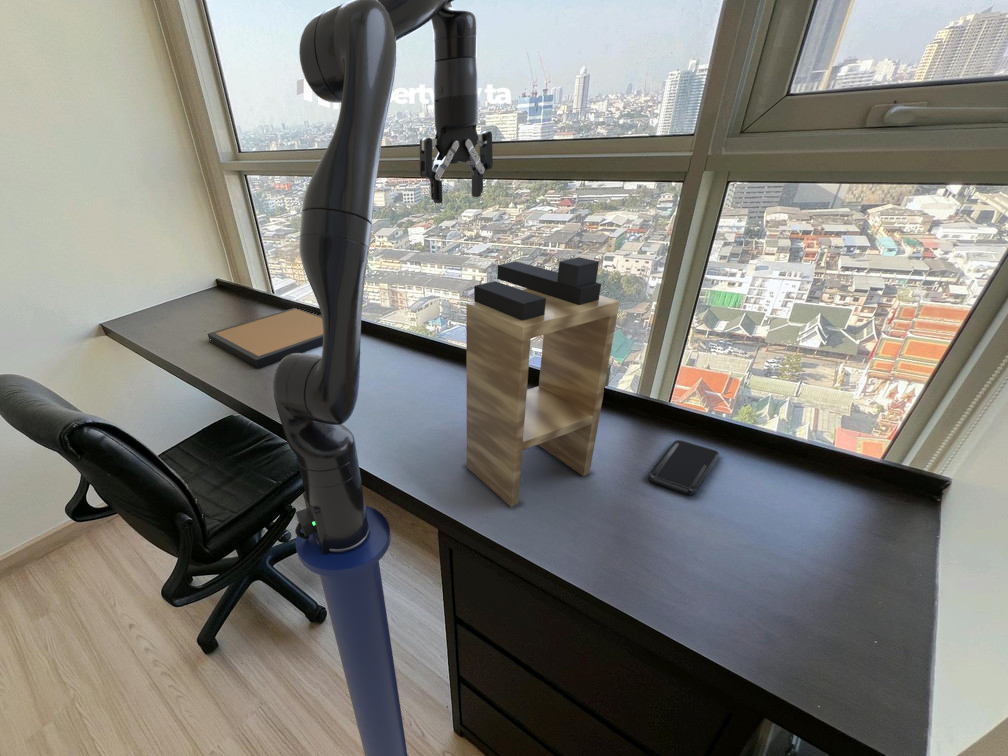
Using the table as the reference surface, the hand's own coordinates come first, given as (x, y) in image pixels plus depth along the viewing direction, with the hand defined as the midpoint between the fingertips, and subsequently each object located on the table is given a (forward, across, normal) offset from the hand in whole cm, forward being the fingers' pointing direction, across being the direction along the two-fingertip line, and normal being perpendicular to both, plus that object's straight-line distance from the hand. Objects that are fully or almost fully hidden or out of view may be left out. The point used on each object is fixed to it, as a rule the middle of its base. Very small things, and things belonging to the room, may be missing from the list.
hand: (457, 199), depth 91 cm
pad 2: (+12, -1, +25) cm, 28 cm away
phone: (+44, -20, +45) cm, 66 cm away
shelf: (+43, +4, +31) cm, 53 cm away
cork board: (+44, +26, -72) cm, 89 cm away
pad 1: (+11, +9, +29) cm, 33 cm away
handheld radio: (+44, -20, +15) cm, 50 cm away
